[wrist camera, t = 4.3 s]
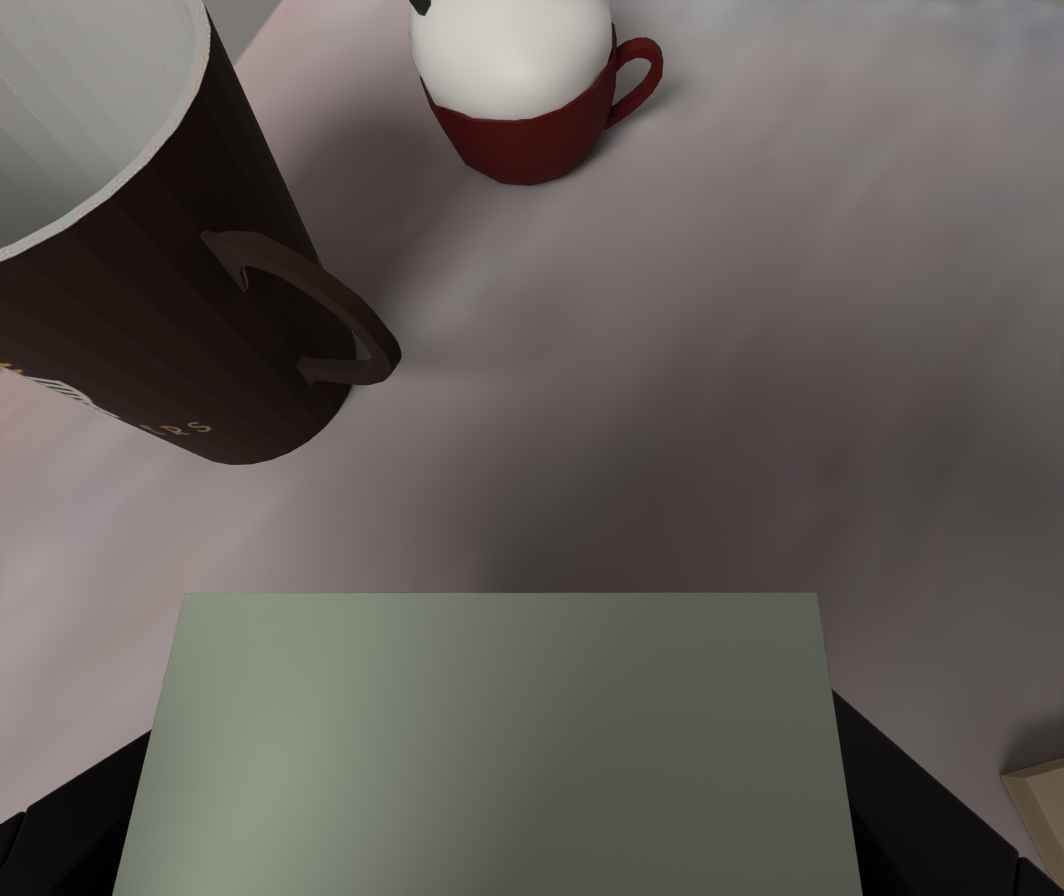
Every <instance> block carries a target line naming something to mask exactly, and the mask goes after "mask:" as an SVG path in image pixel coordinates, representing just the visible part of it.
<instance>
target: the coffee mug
mask: <svg viewBox="0 0 1064 896" xmlns="http://www.w3.org/2000/svg"><path fill="white" fill-rule="evenodd" d="M351 330H352V331H353V332H354V333H355V334H356V335H357V336H358V337H359V338H360V339H361V341H362V342H363V343H364V344H365V346H366V347H367V349H368V351H369V353H370V355H371V357H372V358H371V359H369V360H362V361H358V360H356V346H355V342H354V338H353V335H352V332H351ZM400 360H401V350H400V347H399V344H398V342H397V340H396V339H395V337H394V336H393V335H392V333H391V332H390V331H389V330H388V328H387V327H386V326H385V325H384V323H383V322H382V321H381V320H380V318H379V317H378V316H377V315H376V313H375V312H374V311H373V310H372V309H371V308H370V307H369V306H368V305H367V304H366V303H365V302H364V301H363V300H362V299H361V298H360V297H359V296H358V295H357V294H355V293H354V292H353V291H352V290H351V289H349V288H348V287H346V286H345V285H344V284H343V283H341V282H340V281H339V280H337V279H336V278H335V277H333V276H332V275H331V274H329V273H328V272H327V271H325V270H324V269H323V267H322V265H321V262H320V260H319V258H318V256H317V254H316V251H315V249H314V247H313V245H312V242H311V240H310V238H309V236H308V233H307V231H306V229H305V227H304V225H303V222H302V220H301V218H300V216H299V213H298V211H297V209H296V207H295V205H294V202H293V200H292V198H291V196H290V193H289V191H288V189H287V187H286V184H285V182H284V180H283V178H282V176H281V173H280V171H279V169H278V167H277V164H276V162H275V160H274V158H273V156H272V153H271V151H270V149H269V147H268V144H267V142H266V140H265V138H264V136H263V133H262V131H261V129H260V127H259V124H258V122H257V120H256V118H255V115H254V113H253V111H252V109H251V107H250V104H249V102H248V100H247V98H246V95H245V93H244V91H243V89H242V87H241V84H240V82H239V80H238V78H237V75H236V73H235V71H234V69H233V66H232V64H231V62H230V60H229V58H228V55H227V53H226V51H225V49H224V47H223V44H222V42H221V40H220V38H219V35H218V33H217V31H216V29H215V26H214V24H213V22H212V20H211V18H210V15H209V13H208V11H207V9H206V7H205V4H204V2H203V1H202V0H0V366H2V367H4V368H6V369H8V370H10V371H13V372H15V373H17V374H19V375H21V376H24V377H26V378H28V379H30V380H33V381H35V382H37V383H39V384H41V385H44V386H46V387H48V388H50V389H53V390H55V391H57V392H59V393H61V394H64V395H66V396H68V397H70V398H72V399H75V400H77V401H79V402H81V403H84V404H86V405H88V406H90V407H92V408H95V409H97V410H99V411H101V412H104V413H106V414H108V415H110V416H112V417H115V418H117V419H119V420H121V421H123V422H126V423H128V424H130V425H132V426H135V427H137V428H139V429H141V430H143V431H146V432H148V433H150V434H152V435H155V436H157V437H159V438H161V439H163V440H166V441H168V442H170V443H172V444H174V445H177V446H179V447H181V448H183V449H186V450H188V451H190V452H192V453H194V454H197V455H199V456H201V457H204V458H206V459H208V460H211V461H213V462H218V463H224V464H229V465H244V464H255V463H259V462H264V461H268V460H272V459H274V458H277V457H279V456H282V455H284V454H287V453H289V452H291V451H293V450H294V449H296V448H298V447H299V446H301V445H303V444H304V443H306V442H308V441H309V440H310V439H311V438H313V437H314V436H315V435H316V434H317V433H318V432H320V431H321V430H322V429H323V428H324V427H325V426H326V425H327V424H328V423H329V421H330V420H331V419H332V418H333V417H334V415H335V414H336V413H337V412H338V410H339V409H340V407H341V405H342V404H343V402H344V400H345V398H346V397H347V395H348V392H349V390H350V387H351V384H356V385H371V384H375V383H379V382H383V381H384V380H386V379H387V378H388V377H389V376H390V375H391V373H392V372H393V370H394V369H395V368H396V366H397V365H398V363H399V362H400Z"/></svg>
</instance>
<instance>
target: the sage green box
mask: <svg viewBox="0 0 1064 896" xmlns="http://www.w3.org/2000/svg"><path fill="white" fill-rule="evenodd" d="M112 896H863V895H862V888H861V882H860V875H859V868H858V862H857V855H856V848H855V842H854V835H853V828H852V822H851V815H850V809H849V802H848V795H847V789H846V782H845V775H844V769H843V762H842V756H841V749H840V742H839V736H838V729H837V722H836V716H835V709H834V702H833V696H832V689H831V683H830V676H829V669H828V663H827V656H826V649H825V643H824V636H823V630H822V623H821V616H820V610H819V603H818V596H817V593H184V597H183V601H182V605H181V609H180V613H179V618H178V622H177V626H176V630H175V634H174V639H173V643H172V647H171V651H170V655H169V660H168V664H167V668H166V672H165V676H164V680H163V685H162V689H161V693H160V697H159V701H158V706H157V710H156V714H155V718H154V722H153V727H152V731H151V735H150V739H149V743H148V748H147V752H146V756H145V760H144V764H143V769H142V773H141V777H140V781H139V785H138V789H137V794H136V798H135V802H134V806H133V810H132V815H131V819H130V823H129V827H128V831H127V836H126V840H125V844H124V848H123V852H122V857H121V861H120V865H119V869H118V873H117V877H116V882H115V886H114V890H113V894H112Z"/></svg>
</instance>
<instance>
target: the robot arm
mask: <svg viewBox="0 0 1064 896" xmlns="http://www.w3.org/2000/svg"><path fill="white" fill-rule="evenodd" d="M831 689H832V688H831ZM832 696H833V702H834V709H835V716H836V722H837V729H838V736H839V742H840V749H841V756H842V762H843V769H844V775H845V782H846V789H847V795H848V802H849V809H850V815H851V822H852V828H853V835H854V842H855V848H856V855H857V862H858V868H859V875H860V882H861V888H862V895H863V896H1064V890H1063V889H1062V888H1061V887H1060V886H1058V885H1057V884H1056V883H1055V882H1054V881H1053V880H1052V879H1050V878H1049V877H1048V876H1047V875H1046V874H1045V873H1043V872H1042V871H1041V870H1040V869H1039V868H1038V867H1037V866H1035V865H1034V864H1033V863H1032V862H1031V861H1030V860H1029V859H1027V858H1026V857H1020V858H1019V852H1018V850H1017V849H1015V848H1014V847H1013V846H1012V845H1011V844H1010V843H1009V842H1007V841H1006V840H1005V839H1004V838H1003V837H1002V836H1001V835H999V834H998V833H997V832H996V831H995V830H994V829H992V828H991V827H990V826H989V825H988V824H987V823H986V822H984V821H983V820H982V819H981V818H980V817H979V816H978V815H976V814H975V813H974V812H973V811H972V810H971V809H970V808H968V807H967V806H966V805H965V804H964V803H963V802H961V801H960V800H959V799H958V798H957V797H956V796H955V795H953V794H952V793H951V792H950V791H949V790H948V789H947V788H945V787H944V786H943V785H942V784H941V783H940V782H938V781H937V780H936V779H935V778H934V777H933V776H932V775H930V774H929V773H928V772H927V771H926V770H925V769H924V768H922V767H921V766H920V765H919V764H918V763H917V762H915V761H914V760H913V759H912V758H911V757H910V756H909V755H907V754H906V753H905V752H904V751H903V750H902V749H901V748H899V747H898V746H897V745H896V744H895V743H894V742H892V741H891V740H890V739H889V738H888V737H887V736H886V735H884V734H883V733H882V732H881V731H880V730H879V729H878V728H876V727H875V726H874V725H873V724H872V723H871V722H870V721H868V720H867V719H866V718H865V717H864V716H863V715H861V714H860V713H859V712H858V711H857V710H856V709H855V708H853V707H852V706H851V705H850V704H849V703H848V702H847V701H845V700H844V699H843V698H842V697H841V696H840V695H838V694H837V693H836V692H835V691H834V690H833V689H832ZM151 731H152V729H151V730H150V731H148V732H146V733H145V734H143V735H142V736H140V737H139V738H137V739H135V740H134V741H132V742H131V743H129V744H127V745H126V746H124V747H123V748H121V749H119V750H118V751H116V752H115V753H113V754H111V755H110V756H108V757H107V758H105V759H104V760H102V761H100V762H99V763H97V764H96V765H94V766H92V767H91V768H89V769H88V770H86V771H84V772H83V773H81V774H80V775H78V776H76V777H75V778H73V779H72V780H70V781H68V782H67V783H65V784H64V785H62V786H61V787H59V788H57V789H56V790H54V791H53V792H51V793H49V794H48V795H46V796H45V797H43V798H41V799H40V800H38V801H37V802H35V803H33V804H32V805H30V806H29V807H28V808H27V810H26V812H19V813H17V814H16V815H14V816H13V817H11V818H9V819H8V820H6V821H5V822H3V823H2V824H0V896H112V894H113V890H114V886H115V882H116V877H117V873H118V869H119V865H120V861H121V857H122V852H123V848H124V844H125V840H126V836H127V831H128V827H129V823H130V819H131V815H132V810H133V806H134V802H135V798H136V794H137V789H138V785H139V781H140V777H141V773H142V769H143V764H144V760H145V756H146V752H147V748H148V743H149V739H150V735H151Z"/></svg>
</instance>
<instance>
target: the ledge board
mask: <svg viewBox="0 0 1064 896" xmlns="http://www.w3.org/2000/svg"><path fill="white" fill-rule="evenodd" d="M1000 777H1001V779H1002V781H1003V783H1004V785H1005V787H1006V789H1007V791H1008V793H1009V795H1010V797H1011V799H1012V801H1013V803H1014V805H1015V807H1016V809H1017V811H1018V813H1019V815H1020V817H1021V819H1022V820H1023V822H1024V824H1025V826H1026V828H1027V830H1028V832H1029V834H1030V836H1031V838H1032V840H1033V842H1034V844H1035V846H1036V848H1037V850H1038V852H1039V854H1040V856H1041V858H1042V860H1043V862H1044V864H1045V866H1046V868H1047V870H1048V872H1049V874H1050V875H1051V877H1052V879H1053V881H1054V882H1055V883H1056V884H1057V885H1058V886H1060V887H1061V888H1062V889H1063V890H1064V758H1060V759H1057V760H1053V761H1050V762H1046V763H1043V764H1039V765H1035V766H1032V767H1028V768H1025V769H1021V770H1018V771H1014V772H1011V773H1007V774H1004V775H1000Z"/></svg>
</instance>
